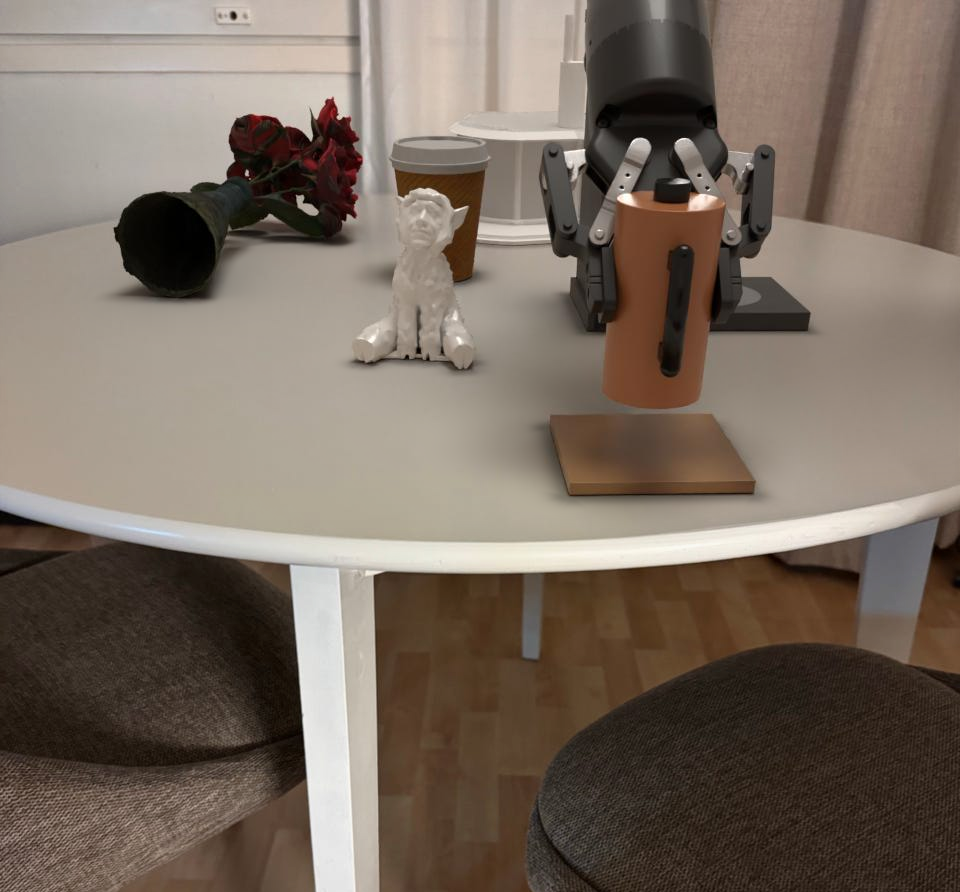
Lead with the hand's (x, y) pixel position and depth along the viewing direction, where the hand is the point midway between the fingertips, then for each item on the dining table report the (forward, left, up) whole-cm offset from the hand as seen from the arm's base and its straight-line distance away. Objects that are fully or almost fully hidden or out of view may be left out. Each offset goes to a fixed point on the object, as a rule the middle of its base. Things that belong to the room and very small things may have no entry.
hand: (665, 315), depth 61 cm
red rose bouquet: (+31, -56, -9) cm, 64 cm away
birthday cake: (0, -73, -9) cm, 74 cm away
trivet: (0, -2, -9) cm, 9 cm away
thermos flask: (0, -2, -5) cm, 5 cm away
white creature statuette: (+14, -24, -9) cm, 29 cm away
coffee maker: (-9, -35, -9) cm, 37 cm away
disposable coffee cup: (+12, -48, -9) cm, 50 cm away
